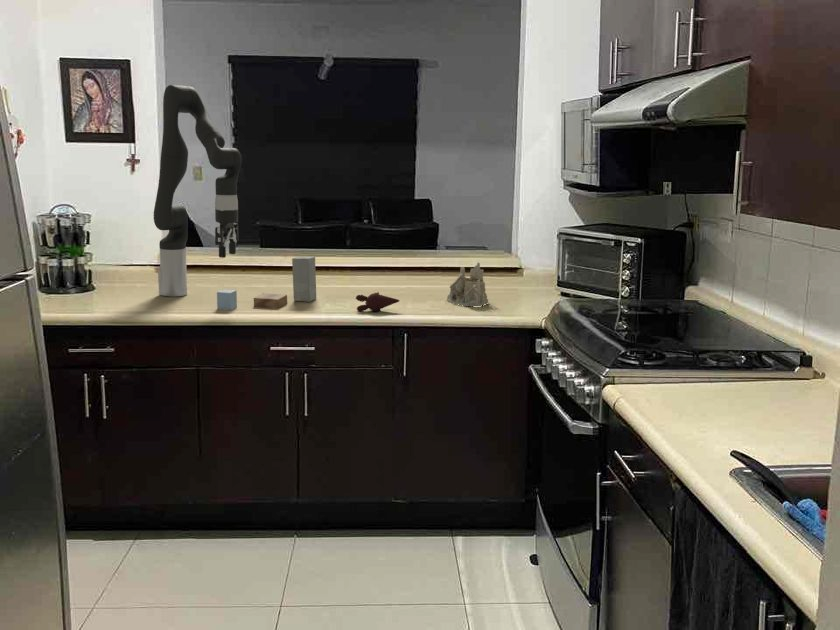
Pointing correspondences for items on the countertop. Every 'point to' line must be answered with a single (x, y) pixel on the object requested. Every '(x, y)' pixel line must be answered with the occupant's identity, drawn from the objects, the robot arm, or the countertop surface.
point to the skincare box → (304, 278)
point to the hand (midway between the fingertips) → (227, 255)
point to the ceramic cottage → (468, 288)
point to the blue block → (227, 299)
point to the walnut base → (270, 300)
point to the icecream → (375, 302)
